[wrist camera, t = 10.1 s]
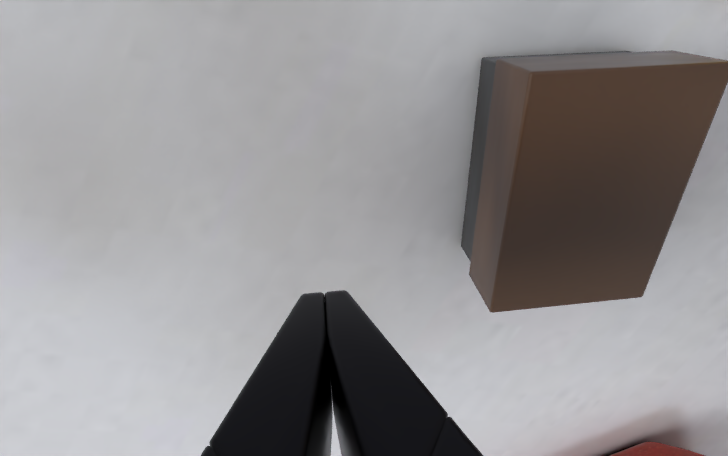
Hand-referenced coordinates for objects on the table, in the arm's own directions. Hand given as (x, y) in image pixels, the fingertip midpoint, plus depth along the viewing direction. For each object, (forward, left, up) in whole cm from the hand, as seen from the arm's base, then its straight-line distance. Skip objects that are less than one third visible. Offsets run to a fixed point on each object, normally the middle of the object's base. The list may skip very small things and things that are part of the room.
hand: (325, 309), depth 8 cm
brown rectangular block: (+4, +6, -6) cm, 10 cm away
